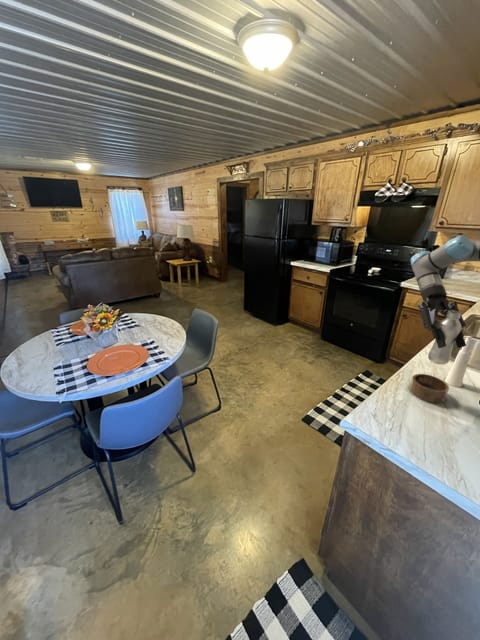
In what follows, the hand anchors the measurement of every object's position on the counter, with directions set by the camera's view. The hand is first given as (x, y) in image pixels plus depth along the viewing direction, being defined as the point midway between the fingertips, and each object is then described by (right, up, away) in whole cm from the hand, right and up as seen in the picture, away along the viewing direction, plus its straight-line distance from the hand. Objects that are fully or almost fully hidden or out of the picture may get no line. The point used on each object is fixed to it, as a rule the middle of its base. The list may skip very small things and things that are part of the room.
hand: (452, 346), depth 91 cm
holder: (-1, -21, +12) cm, 24 cm away
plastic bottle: (0, -7, +7) cm, 9 cm away
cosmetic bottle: (+16, -18, +19) cm, 31 cm away
